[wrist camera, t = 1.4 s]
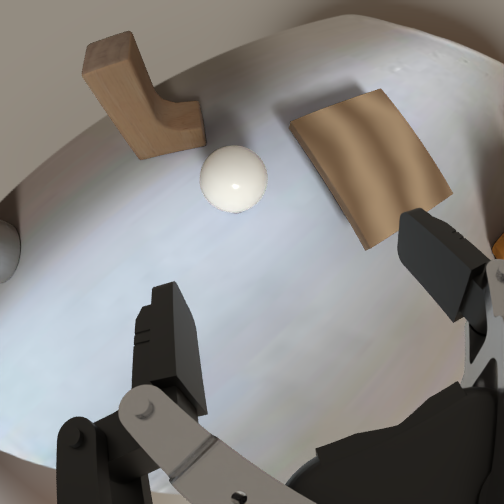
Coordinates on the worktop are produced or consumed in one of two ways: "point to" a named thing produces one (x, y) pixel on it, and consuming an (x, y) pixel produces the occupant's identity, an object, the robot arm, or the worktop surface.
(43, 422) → the worktop surface
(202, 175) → the lightbulb
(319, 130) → the stand
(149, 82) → the wooden block
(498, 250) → the coffee package
